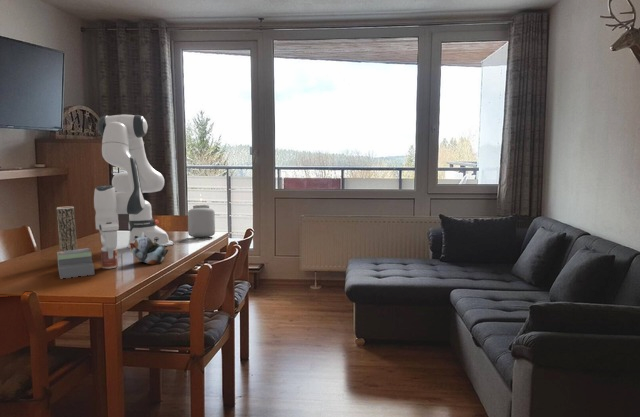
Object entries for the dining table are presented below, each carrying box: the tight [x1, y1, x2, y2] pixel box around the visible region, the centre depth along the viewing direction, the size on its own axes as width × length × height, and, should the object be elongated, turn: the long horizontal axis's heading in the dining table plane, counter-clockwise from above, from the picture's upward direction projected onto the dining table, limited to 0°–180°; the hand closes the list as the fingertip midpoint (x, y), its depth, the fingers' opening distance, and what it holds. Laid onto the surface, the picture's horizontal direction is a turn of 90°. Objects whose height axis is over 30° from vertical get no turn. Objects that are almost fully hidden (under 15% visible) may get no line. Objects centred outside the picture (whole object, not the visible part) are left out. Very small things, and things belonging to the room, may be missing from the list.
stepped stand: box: [56, 247, 96, 280], centre depth 193 cm, size 12×17×8 cm
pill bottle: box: [100, 242, 119, 270], centre depth 201 cm, size 6×6×11 cm
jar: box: [187, 194, 216, 238], centre depth 270 cm, size 19×15×25 cm
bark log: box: [56, 205, 78, 251], centre depth 211 cm, size 7×7×25 cm
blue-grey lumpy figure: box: [129, 235, 169, 266], centre depth 209 cm, size 15×12×14 cm
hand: (109, 256), depth 201 cm, fingers closed on pill bottle, 6 cm apart
